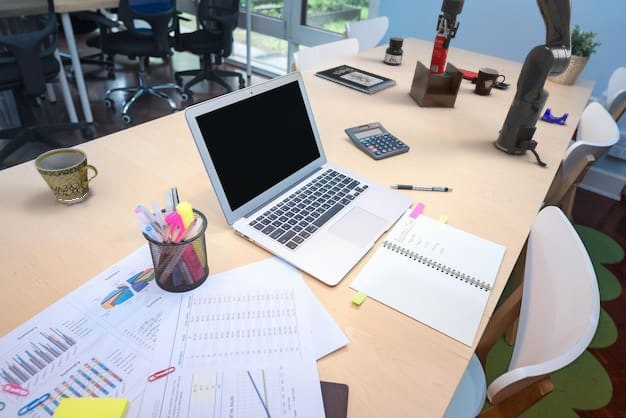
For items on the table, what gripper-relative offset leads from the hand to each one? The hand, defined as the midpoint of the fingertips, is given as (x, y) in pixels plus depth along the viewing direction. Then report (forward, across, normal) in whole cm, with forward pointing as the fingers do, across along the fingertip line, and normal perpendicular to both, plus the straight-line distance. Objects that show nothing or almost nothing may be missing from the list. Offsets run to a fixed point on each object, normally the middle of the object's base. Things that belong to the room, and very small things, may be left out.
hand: (441, 46), depth 153 cm
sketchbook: (+21, -20, -27) cm, 39 cm away
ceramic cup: (+21, +70, -115) cm, 136 cm away
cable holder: (+21, +22, +44) cm, 53 cm away
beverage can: (+11, 0, 0) cm, 11 cm away
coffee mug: (+21, -7, +30) cm, 37 cm away
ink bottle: (+21, -48, -1) cm, 52 cm away
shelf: (+21, +3, 0) cm, 21 cm away
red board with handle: (+21, -26, +36) cm, 49 cm away
